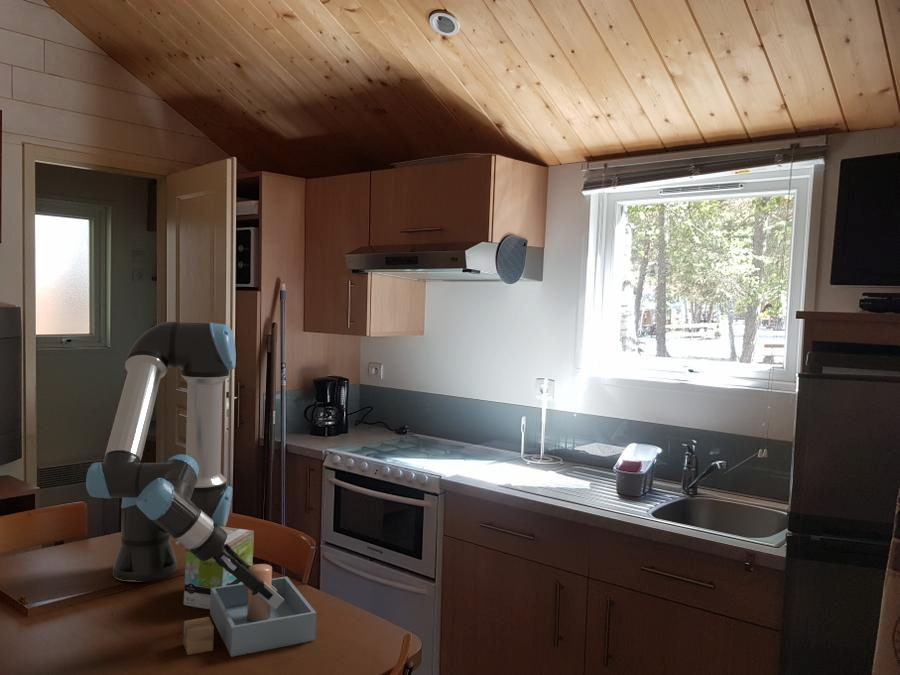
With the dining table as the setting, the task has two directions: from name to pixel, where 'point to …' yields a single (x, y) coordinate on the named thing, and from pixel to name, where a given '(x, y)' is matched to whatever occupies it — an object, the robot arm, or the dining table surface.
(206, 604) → the tea box
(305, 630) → the tote
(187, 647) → the block
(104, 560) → the dining table surface
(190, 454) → the robot arm
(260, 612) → the peach orange cylinder
